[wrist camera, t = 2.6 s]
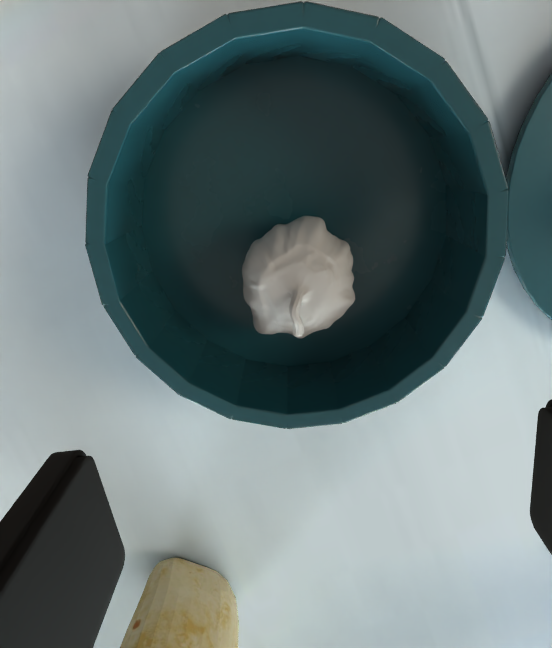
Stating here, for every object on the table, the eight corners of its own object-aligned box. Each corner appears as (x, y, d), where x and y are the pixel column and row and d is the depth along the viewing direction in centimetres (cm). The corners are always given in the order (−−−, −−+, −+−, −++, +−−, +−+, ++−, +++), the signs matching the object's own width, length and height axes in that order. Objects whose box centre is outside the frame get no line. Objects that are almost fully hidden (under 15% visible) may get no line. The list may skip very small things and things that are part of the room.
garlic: (318, 337, 25) (326, 383, 20) (227, 297, 24) (211, 335, 19) (371, 237, 23) (394, 261, 18) (273, 191, 22) (268, 203, 17)
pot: (460, 12, 20) (520, -36, 15) (457, 357, 26) (499, 409, 21) (92, 70, 21) (28, 45, 16) (169, 387, 27) (140, 443, 22)
